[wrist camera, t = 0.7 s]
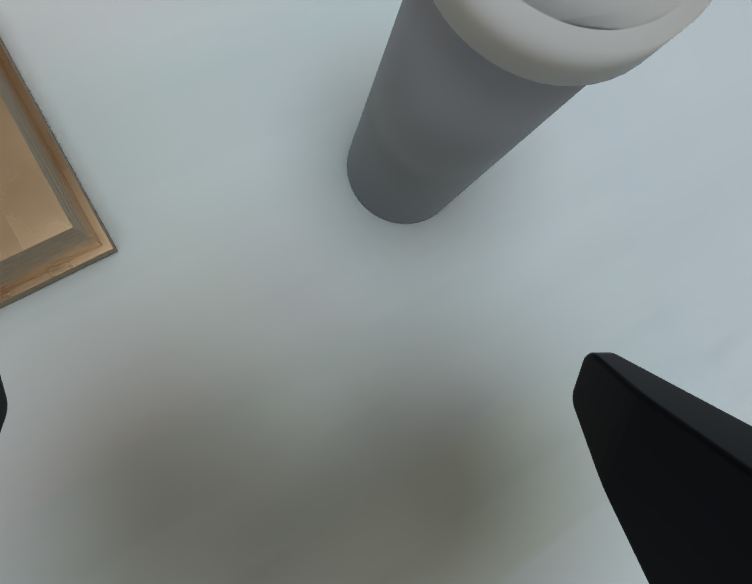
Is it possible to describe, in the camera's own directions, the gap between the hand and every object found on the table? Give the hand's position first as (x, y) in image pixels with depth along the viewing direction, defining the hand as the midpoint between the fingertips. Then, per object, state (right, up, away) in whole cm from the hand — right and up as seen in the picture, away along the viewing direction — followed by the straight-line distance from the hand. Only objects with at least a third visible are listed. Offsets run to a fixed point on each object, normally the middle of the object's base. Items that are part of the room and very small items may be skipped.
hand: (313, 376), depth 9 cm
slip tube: (+2, +6, +14) cm, 15 cm away
